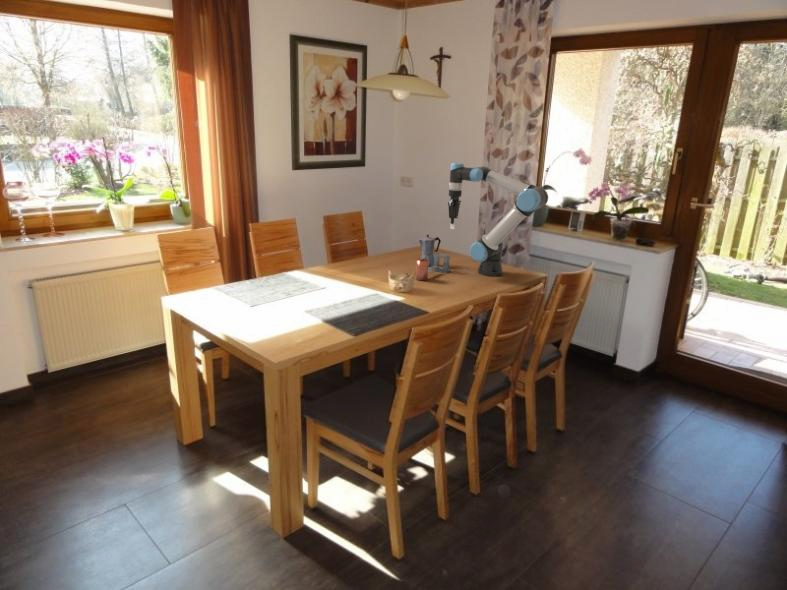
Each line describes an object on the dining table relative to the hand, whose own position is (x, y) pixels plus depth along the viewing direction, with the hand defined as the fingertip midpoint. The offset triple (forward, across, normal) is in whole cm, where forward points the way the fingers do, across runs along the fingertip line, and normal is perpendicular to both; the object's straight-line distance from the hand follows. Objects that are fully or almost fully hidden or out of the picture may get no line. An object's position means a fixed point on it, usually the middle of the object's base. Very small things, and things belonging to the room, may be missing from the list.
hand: (452, 228), depth 335 cm
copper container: (+26, +21, -4) cm, 34 cm away
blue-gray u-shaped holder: (+26, +4, -4) cm, 27 cm away
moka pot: (+27, -3, -17) cm, 32 cm away
